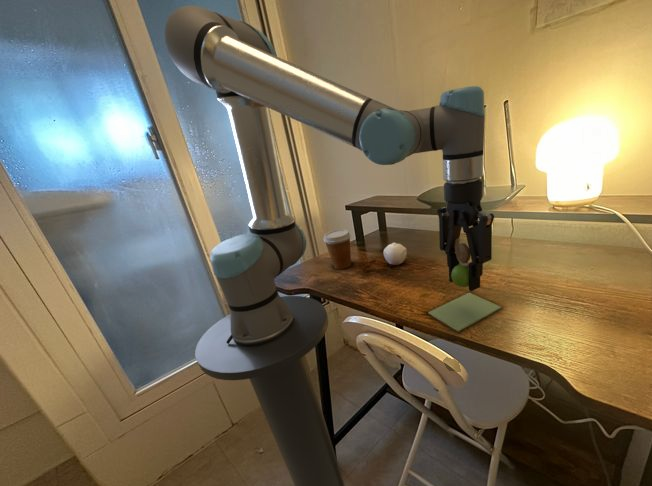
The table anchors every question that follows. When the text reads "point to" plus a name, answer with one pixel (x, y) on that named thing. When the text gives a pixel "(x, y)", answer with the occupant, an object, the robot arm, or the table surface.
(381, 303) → the table surface
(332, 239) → the disposable coffee cup
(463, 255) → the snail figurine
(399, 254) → the garlic bulb
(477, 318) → the edge mat
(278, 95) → the robot arm
